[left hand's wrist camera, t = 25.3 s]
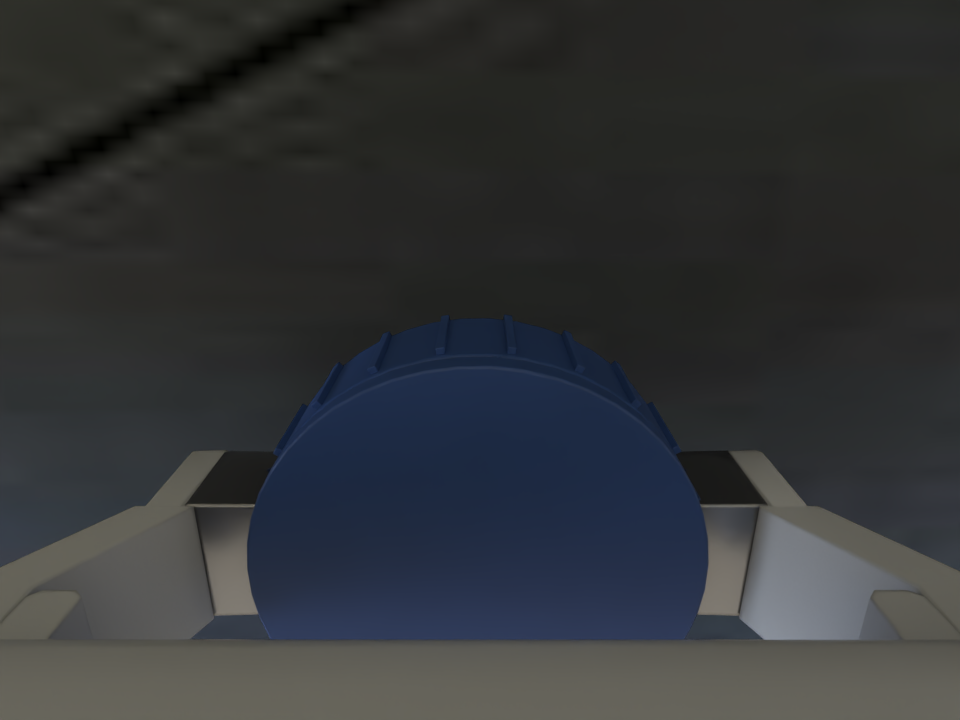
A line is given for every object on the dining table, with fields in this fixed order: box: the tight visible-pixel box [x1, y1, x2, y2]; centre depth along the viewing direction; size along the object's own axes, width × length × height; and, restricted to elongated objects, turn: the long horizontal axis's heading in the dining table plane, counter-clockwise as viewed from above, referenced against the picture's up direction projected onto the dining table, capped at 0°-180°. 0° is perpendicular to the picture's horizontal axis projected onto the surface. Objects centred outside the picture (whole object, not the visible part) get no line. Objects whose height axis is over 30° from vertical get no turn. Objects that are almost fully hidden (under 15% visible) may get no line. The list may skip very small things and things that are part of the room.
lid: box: [247, 315, 709, 640], centre depth 9 cm, size 6×6×2 cm
